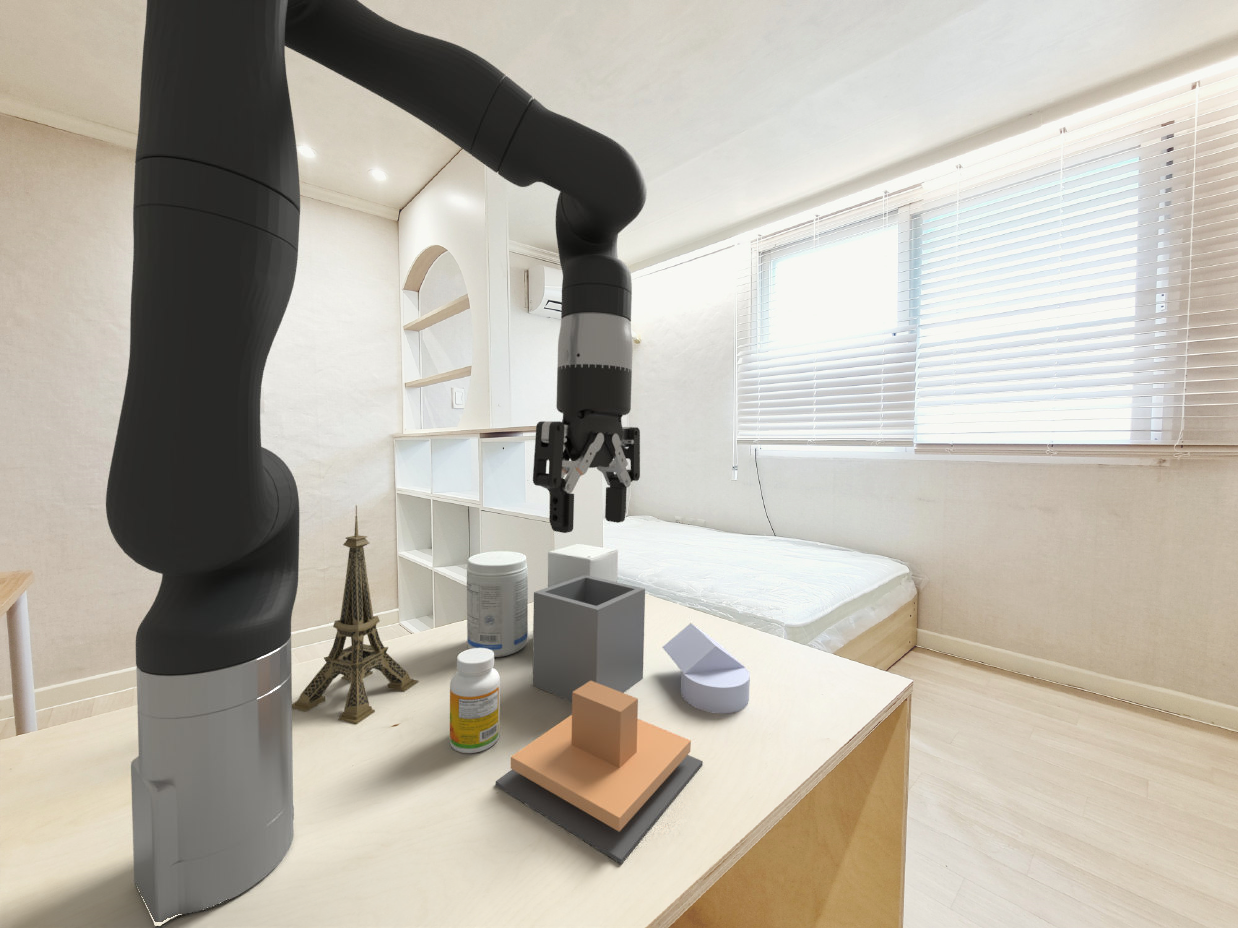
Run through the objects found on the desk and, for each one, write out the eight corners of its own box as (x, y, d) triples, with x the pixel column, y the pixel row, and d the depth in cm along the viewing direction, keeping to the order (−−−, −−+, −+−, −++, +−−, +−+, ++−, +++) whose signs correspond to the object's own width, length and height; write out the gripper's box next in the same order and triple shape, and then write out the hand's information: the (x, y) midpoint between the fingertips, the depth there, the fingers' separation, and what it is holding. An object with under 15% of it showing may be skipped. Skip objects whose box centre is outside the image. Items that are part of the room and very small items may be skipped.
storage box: (595, 712, 61) (597, 609, 60) (532, 685, 67) (533, 592, 67) (642, 678, 70) (645, 588, 69) (583, 657, 76) (584, 574, 76)
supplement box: (618, 633, 86) (620, 548, 85) (588, 651, 78) (590, 559, 78) (577, 621, 91) (578, 542, 90) (545, 637, 83) (546, 551, 82)
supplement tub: (511, 630, 86) (512, 547, 85) (538, 648, 79) (539, 558, 78) (457, 644, 80) (457, 555, 79) (481, 665, 73) (481, 568, 72)
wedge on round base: (661, 669, 73) (697, 717, 60) (662, 624, 73) (698, 664, 60) (716, 663, 75) (762, 708, 63) (718, 620, 75) (764, 657, 62)
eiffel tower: (288, 708, 60) (286, 507, 59) (357, 670, 71) (356, 498, 69) (356, 724, 57) (355, 513, 56) (418, 682, 67) (418, 502, 66)
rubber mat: (621, 864, 39) (621, 859, 39) (495, 784, 48) (495, 780, 48) (702, 764, 51) (702, 760, 51) (590, 715, 60) (590, 712, 60)
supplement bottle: (456, 725, 57) (457, 644, 57) (503, 724, 58) (504, 644, 57) (443, 755, 52) (443, 666, 52) (494, 754, 52) (495, 665, 52)
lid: (618, 845, 41) (621, 753, 40) (510, 780, 48) (511, 701, 48) (690, 762, 51) (692, 689, 51) (592, 719, 59) (593, 655, 58)
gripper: (577, 352, 41) (572, 542, 42) (662, 374, 53) (657, 522, 54) (516, 359, 46) (512, 530, 47) (607, 377, 57) (603, 514, 58)
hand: (590, 526), depth 50 cm, fingers open, 8 cm apart
